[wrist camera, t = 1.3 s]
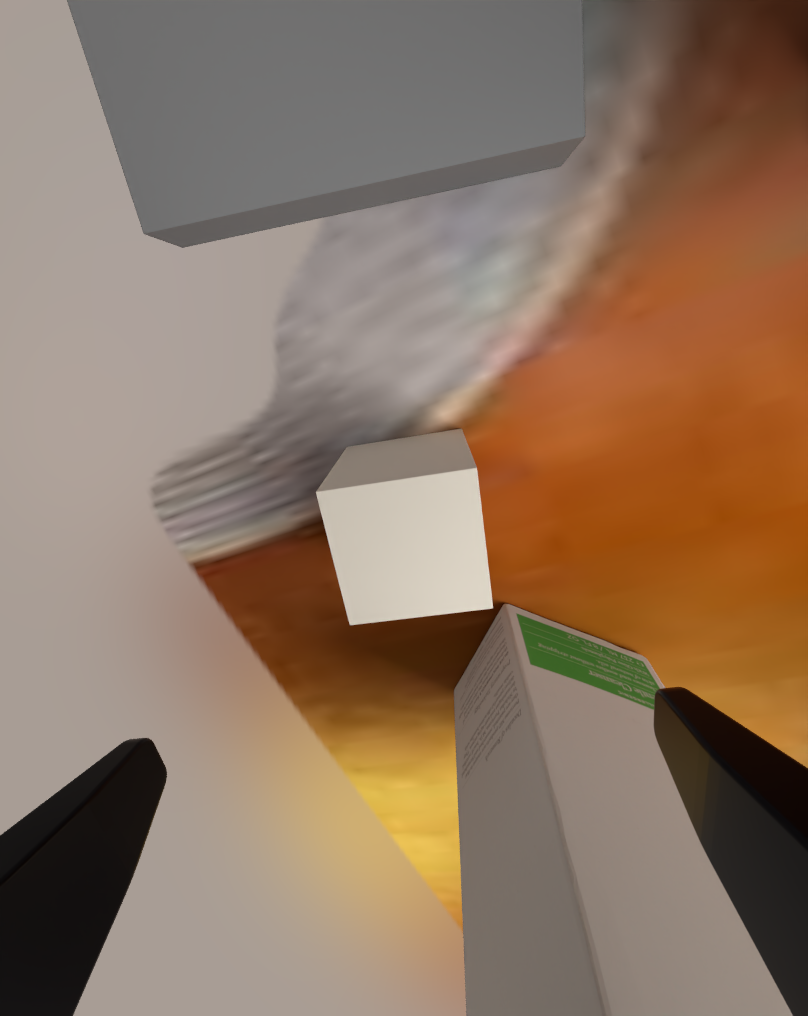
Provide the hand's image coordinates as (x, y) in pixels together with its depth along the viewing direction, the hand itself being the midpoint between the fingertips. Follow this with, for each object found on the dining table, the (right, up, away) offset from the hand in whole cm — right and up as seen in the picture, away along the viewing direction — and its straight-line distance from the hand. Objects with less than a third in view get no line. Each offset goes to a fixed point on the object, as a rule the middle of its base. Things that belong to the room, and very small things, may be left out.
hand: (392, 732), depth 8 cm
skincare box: (+7, -5, +16) cm, 18 cm away
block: (+1, +5, +12) cm, 13 cm away
